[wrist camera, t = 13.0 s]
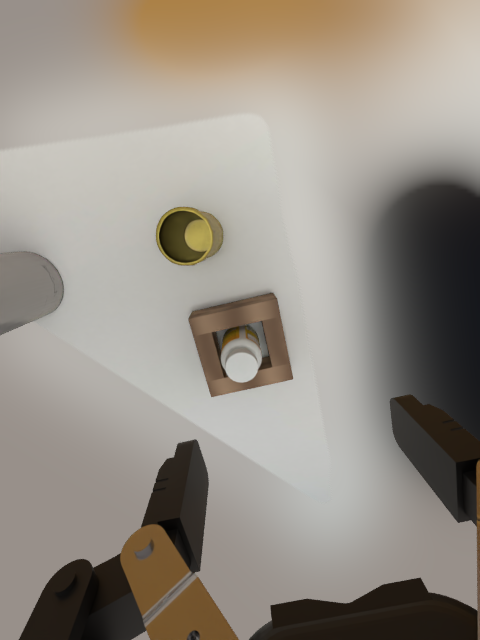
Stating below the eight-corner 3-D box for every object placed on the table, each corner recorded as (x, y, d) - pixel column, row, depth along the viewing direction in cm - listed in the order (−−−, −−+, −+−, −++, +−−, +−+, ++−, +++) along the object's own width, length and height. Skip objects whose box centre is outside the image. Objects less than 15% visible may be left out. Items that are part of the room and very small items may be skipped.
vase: (229, 249, 41) (227, 257, 28) (188, 264, 42) (166, 280, 28) (213, 205, 40) (203, 190, 26) (171, 221, 40) (138, 215, 27)
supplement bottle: (259, 324, 45) (266, 348, 35) (256, 357, 46) (262, 389, 37) (223, 322, 44) (221, 345, 35) (221, 355, 46) (218, 386, 37)
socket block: (213, 383, 47) (211, 397, 43) (192, 311, 44) (188, 319, 40) (288, 367, 47) (293, 379, 43) (273, 292, 43) (276, 298, 39)
